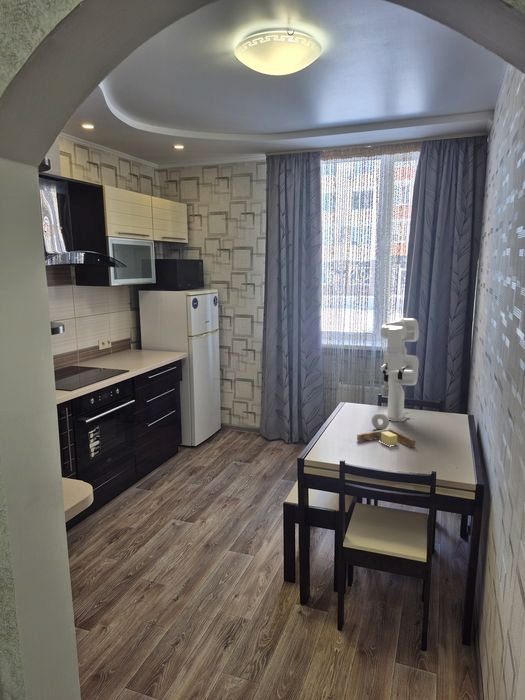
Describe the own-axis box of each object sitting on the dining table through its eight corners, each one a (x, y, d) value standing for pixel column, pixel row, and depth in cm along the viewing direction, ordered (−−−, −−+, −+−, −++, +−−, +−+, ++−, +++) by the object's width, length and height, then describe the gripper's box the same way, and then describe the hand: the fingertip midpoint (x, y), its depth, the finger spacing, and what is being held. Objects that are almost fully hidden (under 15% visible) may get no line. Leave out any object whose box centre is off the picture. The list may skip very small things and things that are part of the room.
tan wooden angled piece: (389, 435, 258) (390, 428, 258) (414, 447, 240) (415, 440, 240) (357, 441, 250) (357, 434, 249) (380, 454, 231) (380, 447, 231)
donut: (370, 429, 268) (371, 412, 267) (372, 427, 271) (372, 411, 270) (388, 431, 264) (388, 415, 262) (389, 429, 267) (390, 413, 265)
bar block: (396, 444, 244) (397, 435, 243) (389, 445, 242) (389, 436, 241) (386, 439, 251) (387, 430, 251) (379, 440, 249) (379, 431, 249)
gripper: (402, 348, 262) (400, 377, 265) (377, 350, 255) (376, 380, 258) (411, 350, 255) (409, 380, 258) (385, 352, 248) (384, 383, 251)
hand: (393, 380), depth 258 cm, fingers open, 9 cm apart
